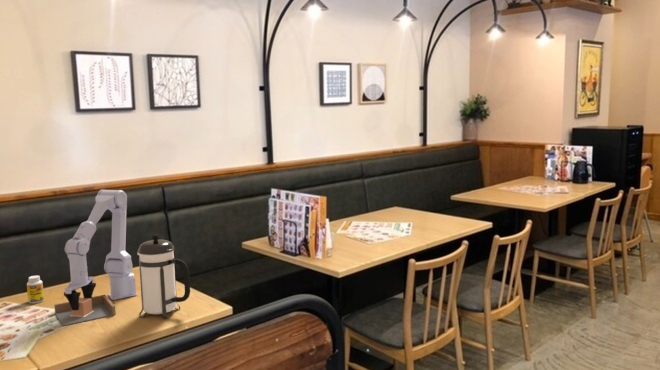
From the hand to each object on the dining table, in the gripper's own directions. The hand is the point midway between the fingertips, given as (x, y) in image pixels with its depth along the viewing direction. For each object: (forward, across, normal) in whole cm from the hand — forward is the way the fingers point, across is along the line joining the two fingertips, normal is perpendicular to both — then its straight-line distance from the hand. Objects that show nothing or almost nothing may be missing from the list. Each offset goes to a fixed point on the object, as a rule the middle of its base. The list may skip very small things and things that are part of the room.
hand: (81, 306), depth 202 cm
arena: (+3, -1, +1) cm, 3 cm away
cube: (+3, 0, 0) cm, 3 cm away
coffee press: (+3, -6, +30) cm, 30 cm away
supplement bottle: (+3, -11, -28) cm, 30 cm away
